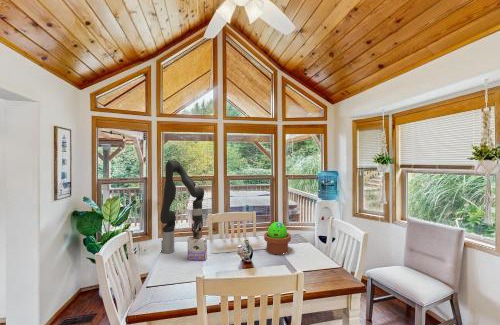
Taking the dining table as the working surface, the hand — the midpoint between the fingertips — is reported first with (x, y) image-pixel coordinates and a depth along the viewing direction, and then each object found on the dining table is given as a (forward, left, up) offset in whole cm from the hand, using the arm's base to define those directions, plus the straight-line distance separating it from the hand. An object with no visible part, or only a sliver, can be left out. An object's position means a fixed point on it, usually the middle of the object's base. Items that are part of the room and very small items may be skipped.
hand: (197, 235), depth 188 cm
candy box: (0, 0, -19) cm, 19 cm away
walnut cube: (0, 0, -2) cm, 2 cm away
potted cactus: (+57, +32, -19) cm, 68 cm away
